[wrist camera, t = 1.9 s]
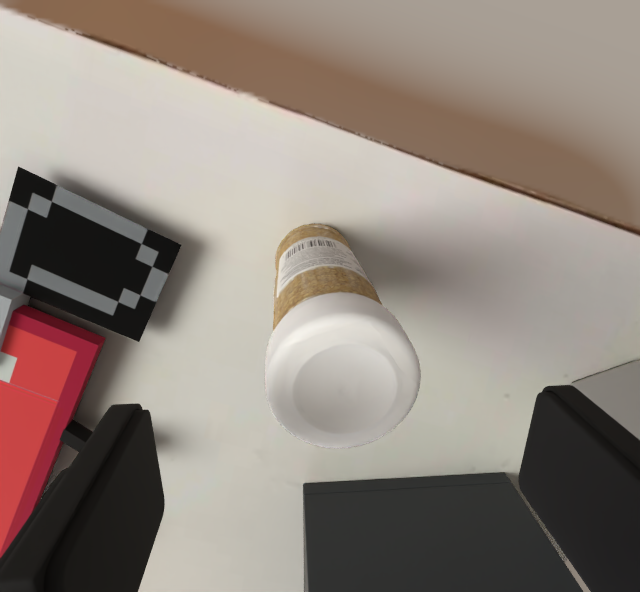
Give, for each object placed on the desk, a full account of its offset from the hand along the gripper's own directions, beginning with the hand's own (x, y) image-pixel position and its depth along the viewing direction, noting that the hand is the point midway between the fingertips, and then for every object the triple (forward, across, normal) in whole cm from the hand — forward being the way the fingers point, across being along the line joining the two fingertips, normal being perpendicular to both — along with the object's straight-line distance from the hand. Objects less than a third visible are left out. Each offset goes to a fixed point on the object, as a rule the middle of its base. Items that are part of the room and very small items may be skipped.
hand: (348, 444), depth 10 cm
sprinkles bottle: (+15, 0, 0) cm, 15 cm away
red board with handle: (+16, +19, +9) cm, 26 cm away
